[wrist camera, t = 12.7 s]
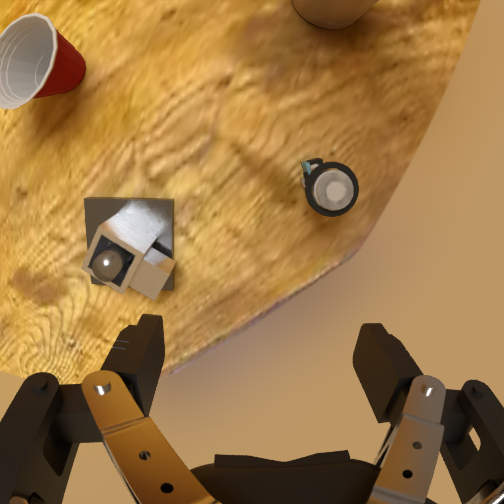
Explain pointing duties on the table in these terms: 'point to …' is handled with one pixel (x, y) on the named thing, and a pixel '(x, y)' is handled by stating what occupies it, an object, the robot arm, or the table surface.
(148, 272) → the grey hollow block
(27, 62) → the plastic cup
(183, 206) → the table surface
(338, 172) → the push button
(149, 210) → the gray square plate
